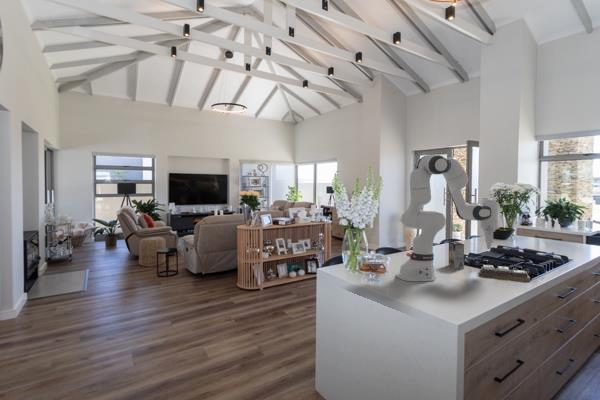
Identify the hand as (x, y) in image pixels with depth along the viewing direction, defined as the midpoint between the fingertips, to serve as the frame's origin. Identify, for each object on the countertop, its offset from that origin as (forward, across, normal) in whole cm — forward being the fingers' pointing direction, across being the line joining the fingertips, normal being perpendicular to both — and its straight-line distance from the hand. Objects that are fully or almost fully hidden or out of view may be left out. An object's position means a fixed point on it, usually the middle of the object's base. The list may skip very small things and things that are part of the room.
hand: (488, 248), depth 181 cm
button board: (+16, 0, -7) cm, 18 cm away
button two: (+14, 0, -15) cm, 20 cm away
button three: (+12, 0, 0) cm, 12 cm away
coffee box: (+16, +12, +18) cm, 27 cm away
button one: (+12, 0, -7) cm, 14 cm away
